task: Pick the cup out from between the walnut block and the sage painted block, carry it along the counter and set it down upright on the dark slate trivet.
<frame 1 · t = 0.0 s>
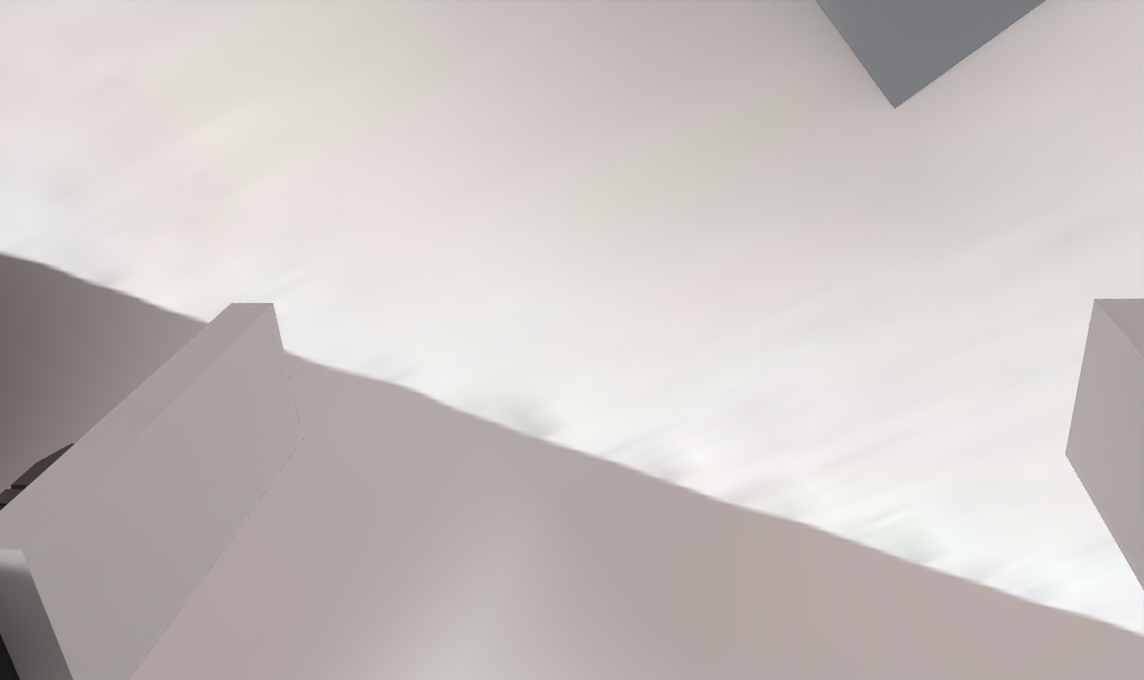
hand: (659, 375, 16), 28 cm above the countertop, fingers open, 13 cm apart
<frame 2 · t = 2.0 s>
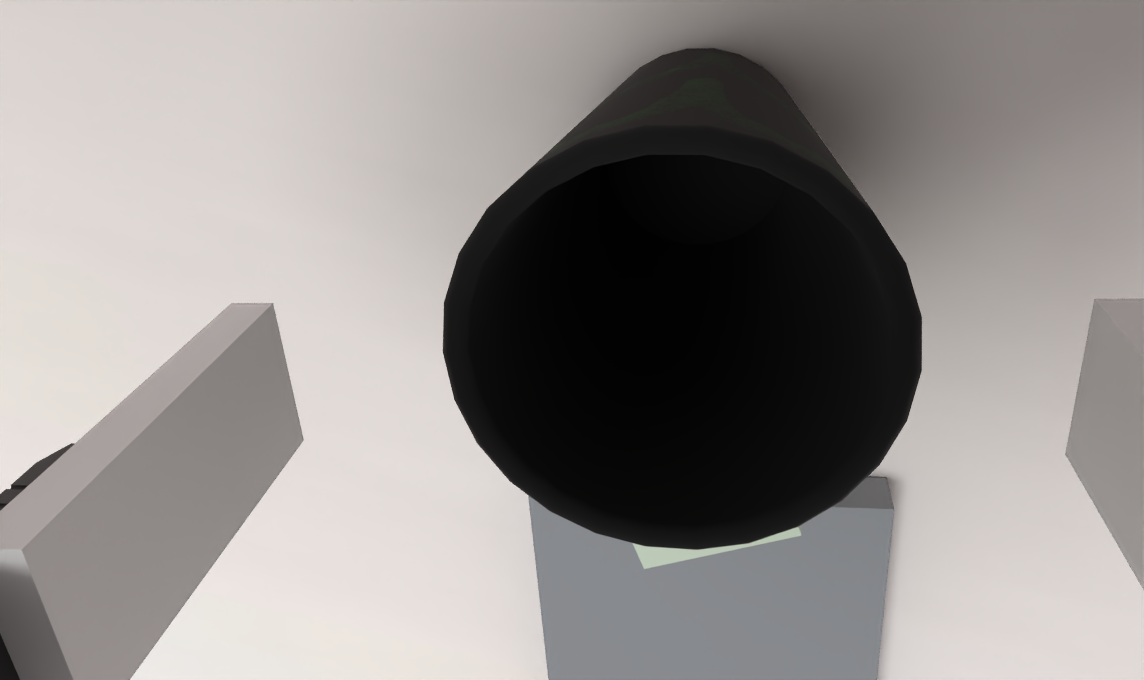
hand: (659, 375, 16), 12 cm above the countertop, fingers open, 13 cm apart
cup: (698, 151, 26), on the countertop
trivet: (707, 615, 33), on the countertop
sage block: (700, 392, 29), on the countertop
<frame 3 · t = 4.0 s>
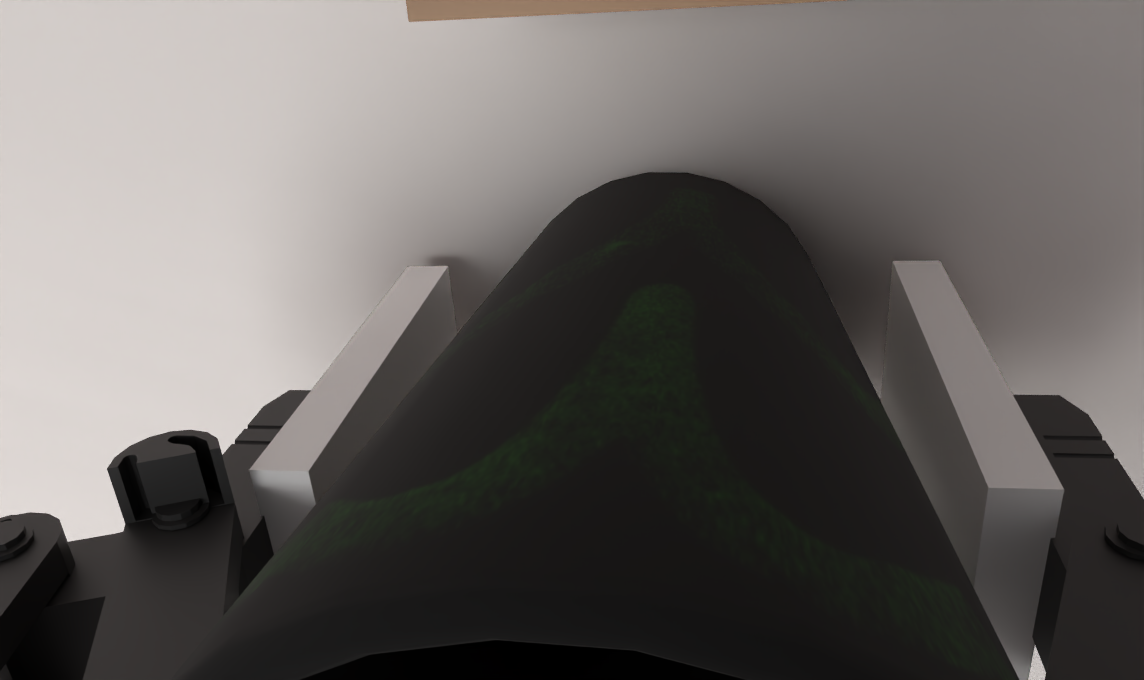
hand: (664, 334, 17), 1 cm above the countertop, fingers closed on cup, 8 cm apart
cup: (666, 313, 18), on the countertop, touching gripper
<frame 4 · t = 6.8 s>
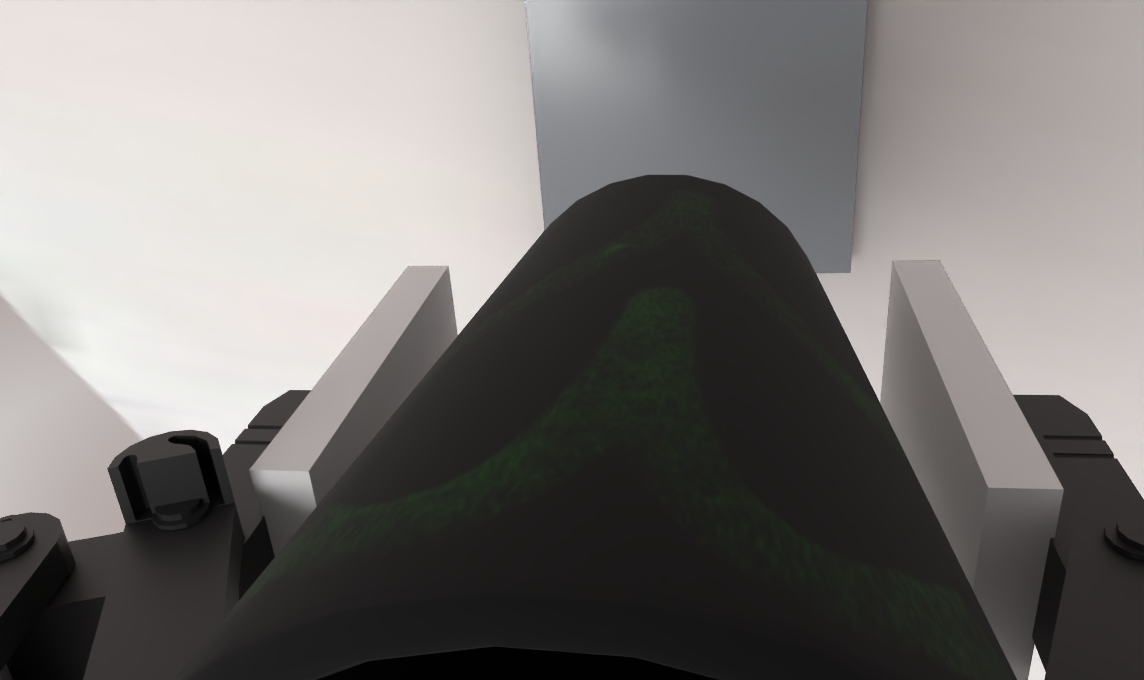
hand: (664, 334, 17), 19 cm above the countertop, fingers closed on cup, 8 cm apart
cup: (666, 315, 18), point 18 cm above the countertop, touching gripper
trivet: (694, 100, 34), on the countertop
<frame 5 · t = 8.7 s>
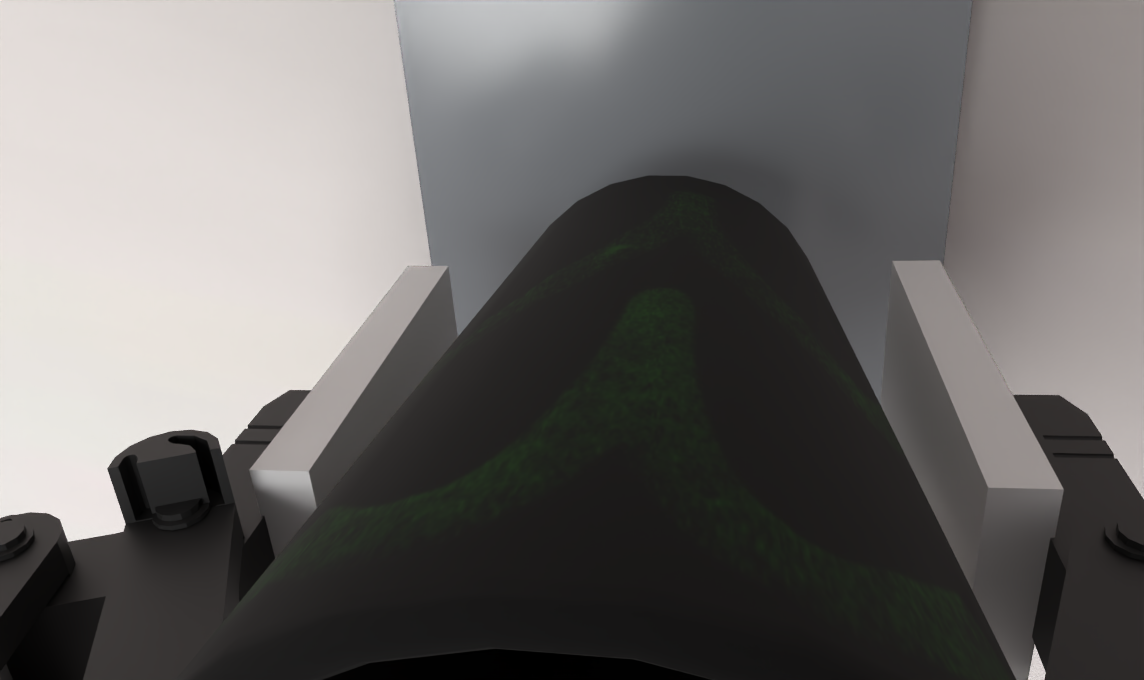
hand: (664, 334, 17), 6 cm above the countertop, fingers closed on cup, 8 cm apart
cup: (666, 316, 18), point 5 cm above the countertop, touching gripper
trivet: (679, 222, 22), on the countertop
when the fingers open (4 cm above the countertop, at t = 9.9 s): cup drops 1 cm, resting on trivet.
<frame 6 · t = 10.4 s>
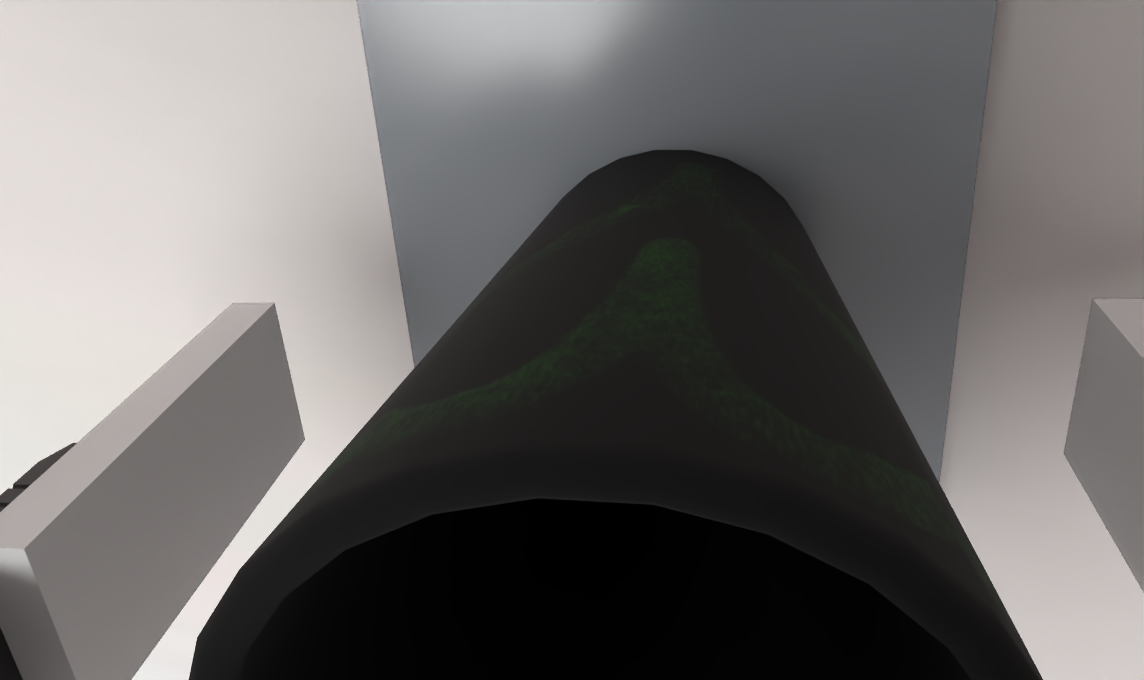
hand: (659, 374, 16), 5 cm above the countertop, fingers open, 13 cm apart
cup: (671, 283, 19), point 1 cm above the countertop, touching trivet
trivet: (673, 258, 20), on the countertop
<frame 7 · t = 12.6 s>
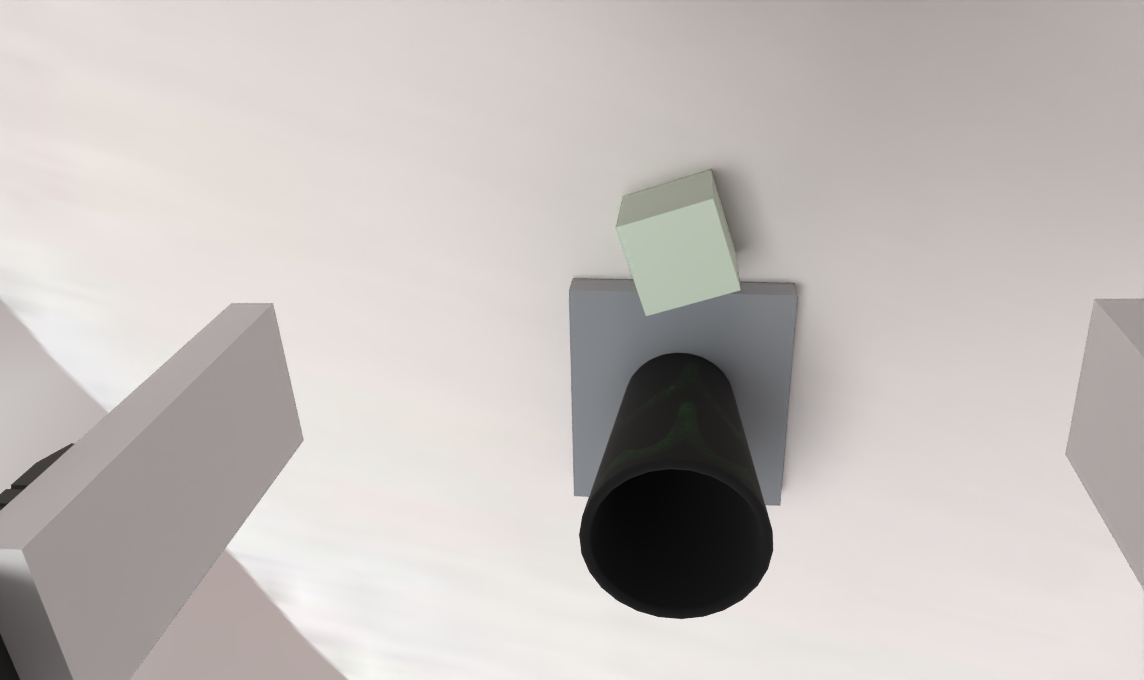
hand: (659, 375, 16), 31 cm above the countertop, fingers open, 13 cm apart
cup: (679, 399, 49), point 1 cm above the countertop, touching trivet
trivet: (679, 387, 50), on the countertop
sage block: (679, 224, 47), on the countertop
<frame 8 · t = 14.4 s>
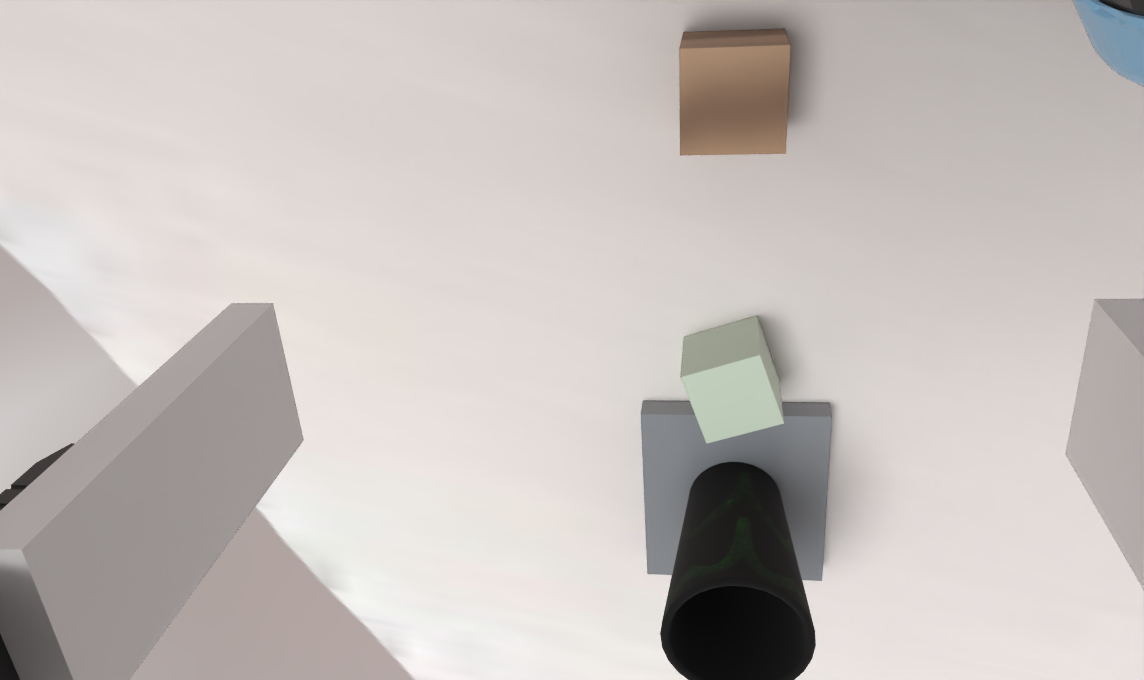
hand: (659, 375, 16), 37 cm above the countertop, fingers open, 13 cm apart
cup: (734, 497, 59), point 1 cm above the countertop, touching trivet
walnut block: (732, 80, 49), on the countertop
trivet: (733, 484, 60), on the countertop
sage block: (731, 358, 56), on the countertop
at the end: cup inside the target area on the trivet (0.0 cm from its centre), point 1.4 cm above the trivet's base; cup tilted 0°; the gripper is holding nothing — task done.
